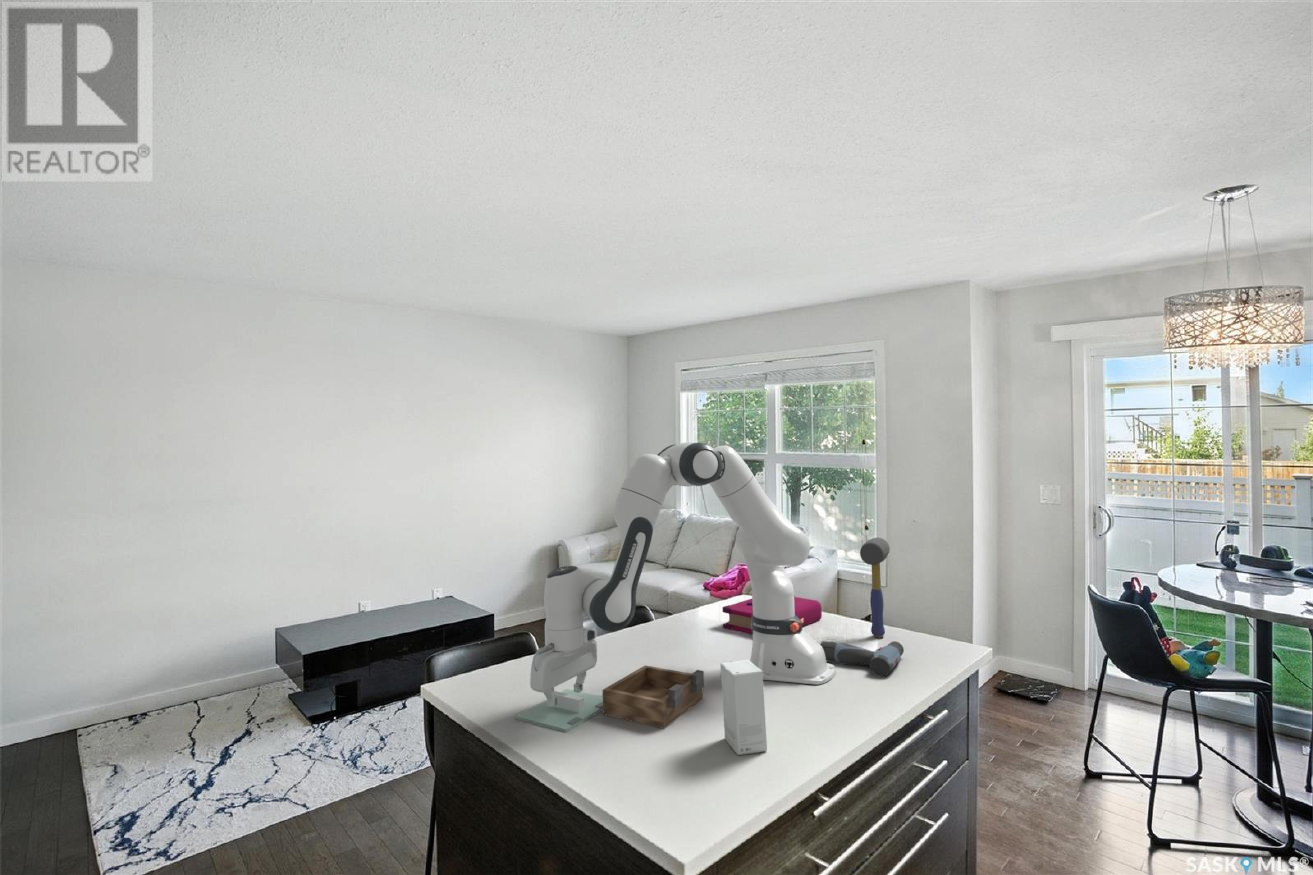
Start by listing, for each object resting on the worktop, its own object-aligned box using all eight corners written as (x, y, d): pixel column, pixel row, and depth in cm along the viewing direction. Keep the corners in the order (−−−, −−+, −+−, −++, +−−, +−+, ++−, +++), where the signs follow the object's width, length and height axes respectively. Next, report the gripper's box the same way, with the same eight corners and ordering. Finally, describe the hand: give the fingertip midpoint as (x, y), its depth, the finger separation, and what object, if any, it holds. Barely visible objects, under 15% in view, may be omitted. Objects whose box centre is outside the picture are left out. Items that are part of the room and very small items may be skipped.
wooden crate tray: (708, 699, 150) (707, 668, 150) (670, 730, 135) (669, 694, 135) (645, 687, 159) (644, 657, 159) (603, 714, 144) (602, 680, 144)
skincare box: (767, 752, 124) (765, 671, 124) (735, 756, 122) (732, 675, 123) (752, 733, 132) (749, 658, 132) (721, 737, 130) (719, 661, 131)
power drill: (837, 647, 187) (908, 658, 176) (814, 666, 172) (890, 679, 161) (836, 628, 187) (908, 638, 176) (814, 646, 172) (890, 658, 161)
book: (822, 621, 215) (821, 599, 215) (774, 641, 195) (773, 616, 195) (770, 611, 230) (770, 590, 230) (721, 628, 210) (720, 605, 210)
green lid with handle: (615, 704, 151) (614, 687, 151) (566, 735, 135) (566, 716, 135) (566, 694, 158) (566, 677, 158) (515, 721, 143) (514, 703, 143)
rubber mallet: (887, 644, 187) (883, 542, 188) (861, 641, 191) (857, 541, 192) (894, 632, 198) (890, 536, 199) (869, 630, 202) (866, 535, 203)
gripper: (544, 653, 137) (546, 717, 136) (601, 628, 154) (602, 686, 154) (522, 648, 140) (524, 712, 140) (580, 625, 157) (581, 681, 157)
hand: (565, 698), depth 147 cm, fingers open, 8 cm apart
